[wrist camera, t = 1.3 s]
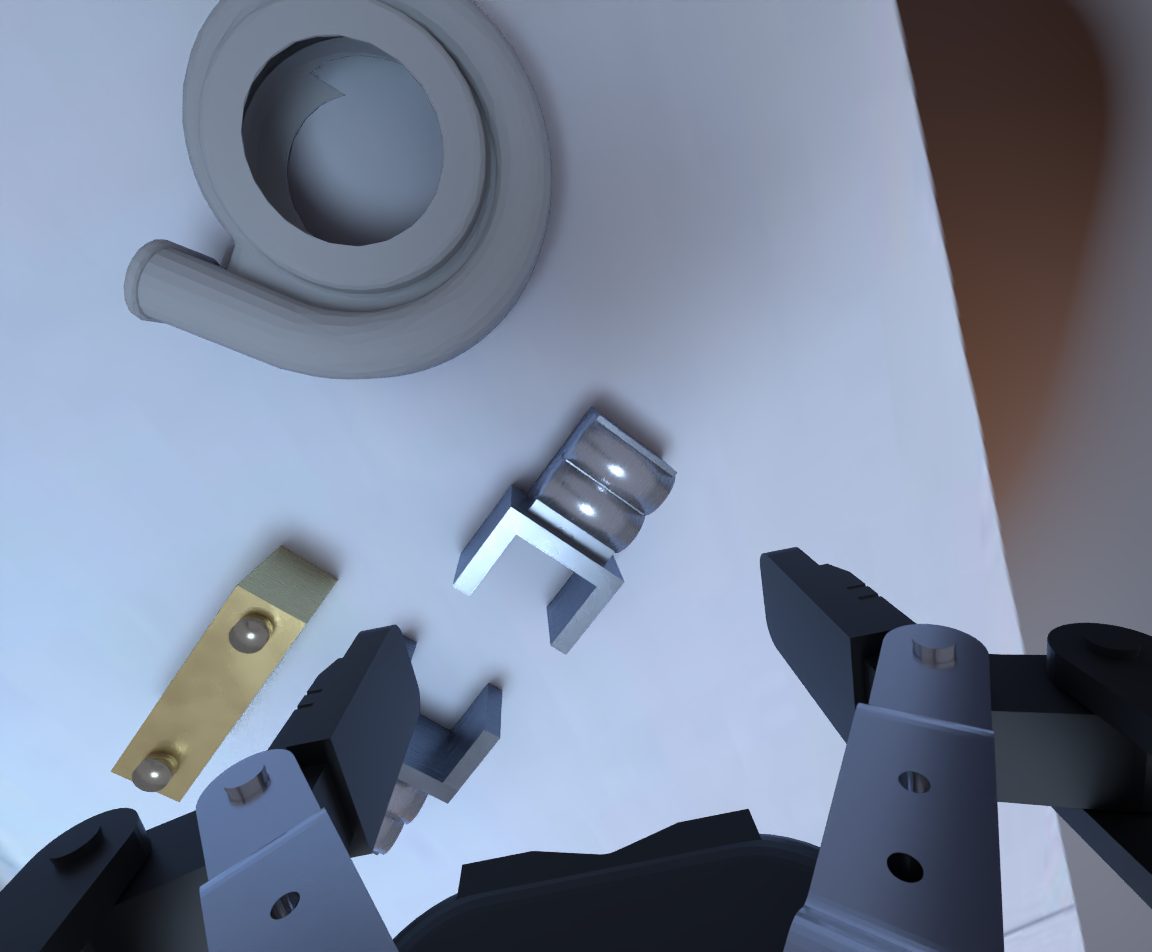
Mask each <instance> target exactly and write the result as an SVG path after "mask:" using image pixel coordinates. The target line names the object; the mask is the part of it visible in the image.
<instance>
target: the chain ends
mask: <svg viewBox="0 0 1152 952" xmlns="http://www.w3.org/2000/svg"><path fill="white" fill-rule="evenodd" d="M676 473H677V472H676V471H675V470H674V469H673V468H671V467H670V466H669V465H668V464H667V463H666V462H665V461H663V460H662V459H661V458H660V457H658V456H657V455H656V454H654V453H653V452H652V451H650V450H649V449H648V448H646V447H645V446H643V445H642V444H641V443H639V442H638V441H637V440H635V439H634V438H633V437H631V436H630V435H629V434H627V433H626V432H625V431H623V430H622V429H621V428H619V427H618V426H617V425H615V424H614V423H612V422H611V421H610V420H608V419H607V418H606V417H604V416H603V415H602V414H600V413H599V412H598V411H596V410H595V409H594V408H592V407H591V408H590V410H589V411H588V412H587V414H586V415H585V416H584V418H583V419H582V420H581V422H580V423H579V424H578V426H577V427H576V429H575V430H574V431H573V433H572V434H571V435H570V437H569V438H568V439H567V441H566V442H565V443H564V445H563V446H562V447H561V449H560V450H559V452H558V453H557V454H556V456H555V457H554V458H553V460H552V461H551V462H550V464H549V465H548V466H547V468H546V469H545V470H544V472H543V473H542V474H541V476H540V477H539V479H538V480H537V481H536V483H535V484H534V485H533V487H532V488H531V489H530V491H529V492H528V493H527V495H526V494H525V493H523V492H522V491H521V490H519V489H518V488H516V487H515V486H513V485H511V486H510V488H509V489H508V490H507V492H506V493H505V494H504V496H503V497H502V499H501V500H500V501H499V503H498V504H497V505H496V507H495V508H494V509H493V511H492V512H491V514H490V515H489V516H488V518H487V519H486V520H485V522H484V523H483V525H482V526H481V527H480V529H479V530H478V531H477V533H476V534H475V535H474V537H473V538H472V540H471V541H470V542H469V544H468V545H467V546H466V548H465V549H464V550H463V552H462V553H461V555H460V558H459V562H458V566H457V570H456V574H455V578H454V582H453V585H452V586H453V587H454V588H456V589H458V590H459V591H461V592H463V593H464V594H466V595H468V596H470V595H471V594H472V592H473V591H474V590H475V588H476V587H477V586H478V584H479V583H480V582H481V580H482V579H483V578H484V576H485V575H486V574H487V572H488V571H489V570H490V568H491V567H492V566H493V564H494V563H495V562H496V560H497V559H498V558H499V556H500V555H501V554H502V552H503V551H504V550H505V548H506V547H507V545H508V544H509V543H510V541H511V540H512V539H513V537H514V536H515V535H516V534H517V535H518V536H520V537H521V538H523V539H524V540H526V541H527V542H529V543H530V544H532V545H534V546H535V547H537V548H538V549H540V550H541V551H543V552H544V553H546V554H547V555H549V556H551V557H552V558H554V559H555V560H557V561H558V562H560V563H561V564H563V565H564V566H566V567H567V568H569V569H571V570H572V571H574V574H573V575H572V576H571V578H570V579H569V580H568V581H567V583H566V584H565V585H564V587H563V588H562V589H561V590H560V592H559V593H558V594H557V596H556V597H555V598H554V600H553V601H552V602H551V603H550V605H549V606H548V607H547V615H548V625H549V634H550V644H551V646H552V647H554V648H556V649H557V650H559V651H561V652H562V653H564V654H567V653H568V652H569V651H570V649H571V648H572V647H573V646H574V644H575V643H576V642H577V641H578V639H579V638H580V637H581V636H582V634H583V633H584V632H585V631H586V629H587V628H588V627H589V626H590V624H591V623H592V622H593V621H594V619H595V618H596V617H597V615H598V614H599V613H600V612H601V610H602V609H603V608H604V607H605V605H606V604H607V603H608V602H609V600H610V599H611V598H612V597H613V595H614V594H615V593H616V592H617V590H618V589H619V588H620V587H621V585H622V584H623V583H624V580H623V577H622V575H621V573H620V570H619V568H618V566H617V563H616V561H615V559H614V556H613V554H614V553H618V552H621V551H622V550H624V549H625V548H626V547H627V546H628V545H629V544H630V543H631V542H632V541H633V540H634V538H635V537H636V535H637V534H638V532H639V531H640V529H641V527H642V525H643V522H644V519H645V515H648V514H650V513H652V512H653V511H655V510H656V509H657V508H658V507H659V506H660V505H661V504H662V503H663V502H664V500H665V499H666V498H667V496H668V494H669V493H670V491H671V489H672V487H673V485H674V481H675V475H676ZM403 637H404V641H405V644H406V647H407V651H408V654H409V657H410V661H411V659H412V656H413V653H414V650H415V647H416V644H417V643H416V642H414V641H412V640H410V639H409V638H407V637H405V636H403ZM501 705H502V691H501V690H499V689H497V688H496V687H494V686H492V685H490V684H488V685H487V686H486V687H485V688H484V690H483V691H482V692H481V694H480V695H479V696H478V697H477V699H476V700H475V701H474V703H473V704H472V705H471V707H470V708H469V709H468V710H467V712H466V713H465V714H464V716H463V717H462V718H461V719H460V721H459V722H458V723H457V725H456V726H455V727H454V728H453V730H452V731H449V730H447V729H445V728H444V727H442V726H440V725H438V724H436V723H434V722H432V721H430V720H428V719H427V718H425V717H423V716H421V715H419V717H418V720H417V723H416V726H415V729H414V732H413V735H412V738H411V741H410V744H409V746H408V749H407V752H406V755H405V758H404V761H403V764H402V767H401V770H400V773H399V776H398V779H397V781H396V784H395V787H394V790H393V793H392V796H391V799H390V802H389V805H388V808H387V811H386V814H385V816H384V819H383V822H382V825H381V828H380V831H379V834H378V837H377V840H376V843H375V846H374V848H373V851H372V853H374V854H376V855H378V854H379V853H381V854H383V855H384V854H386V853H387V852H388V851H389V850H390V848H391V847H392V846H393V844H394V843H395V841H396V839H397V838H398V836H399V834H400V832H401V830H402V828H403V825H404V823H406V824H409V823H410V822H411V821H412V820H413V819H414V818H415V817H416V815H417V814H418V812H419V811H420V809H421V807H422V806H423V804H424V802H425V800H426V797H427V795H428V794H429V795H432V796H434V797H436V798H438V799H440V800H442V801H444V802H446V803H449V802H450V800H451V799H452V798H453V797H454V795H455V794H456V793H457V792H458V790H459V789H460V788H461V787H462V785H463V784H464V783H465V781H466V780H467V779H468V778H469V776H470V775H471V774H472V773H473V771H474V770H475V769H476V768H477V766H478V765H479V764H480V763H481V761H482V760H483V759H484V758H485V756H486V755H487V754H488V753H489V751H490V750H491V749H492V748H493V746H494V745H495V744H496V742H497V741H498V740H499V739H500V729H501Z"/></svg>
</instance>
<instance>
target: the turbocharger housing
mask: <svg viewBox="0 0 1152 952" xmlns="http://www.w3.org/2000/svg"><path fill="white" fill-rule="evenodd" d="M355 55H360V56H369V57H377V58H383V59H387V60H391V61H394V62H397V63H400V64H402V65H403V66H404V67H405V68H406V69H407V70H408V71H409V72H410V74H411V75H412V76H413V77H414V78H415V79H416V80H417V82H418V83H419V84H420V85H421V86H422V87H423V88H424V90H425V92H426V94H427V96H428V98H429V100H430V102H431V105H432V107H433V109H434V111H435V113H436V115H437V117H438V121H439V125H440V130H441V134H442V138H443V160H444V163H443V167H442V171H441V176H440V180H439V184H438V189H437V192H436V194H435V196H434V197H433V199H432V201H431V203H430V204H429V206H428V208H427V210H426V211H425V213H424V214H423V215H422V216H421V217H420V218H419V219H418V220H417V221H416V222H415V223H414V224H413V225H412V226H411V227H410V228H408V229H407V230H405V231H403V232H401V233H400V234H398V235H396V236H395V237H393V238H391V239H389V240H387V241H384V242H379V243H374V244H369V245H364V246H350V245H341V244H333V243H330V242H326V241H323V240H320V239H318V238H315V237H313V236H312V235H311V234H310V233H309V232H308V231H307V229H306V228H305V226H304V224H303V222H302V221H301V219H300V217H299V215H298V213H297V212H296V210H295V208H294V206H293V203H292V199H291V196H290V192H289V188H288V176H287V163H288V158H289V154H290V149H291V145H292V140H293V139H294V137H295V136H296V134H297V132H298V131H299V129H300V127H301V126H302V124H303V123H304V121H305V119H306V118H307V117H308V116H310V115H311V114H312V113H313V112H314V111H315V110H317V109H318V108H319V107H320V106H321V105H323V104H325V103H327V102H328V101H330V100H333V99H335V98H338V97H340V96H344V95H345V94H343V93H341V92H340V91H338V90H337V89H335V88H333V87H332V86H330V85H328V84H327V83H325V82H323V81H322V80H320V79H318V78H317V77H315V76H313V75H312V74H310V73H311V72H313V71H314V70H315V69H317V68H318V67H320V66H321V65H322V64H324V63H325V62H328V61H331V60H334V59H338V58H343V57H348V56H355ZM183 128H184V135H185V141H186V146H187V150H188V154H189V158H190V162H191V165H192V168H193V171H194V175H195V177H196V180H197V182H198V185H199V187H200V189H201V192H202V194H203V196H204V198H205V200H206V201H207V203H208V205H209V206H210V208H211V210H212V211H213V213H214V215H215V216H216V218H217V219H218V221H219V222H220V224H221V225H222V226H223V228H224V229H225V230H226V231H227V232H228V234H229V235H230V236H231V237H232V239H233V240H234V243H235V246H234V249H233V252H232V256H231V259H230V262H229V265H228V268H227V269H225V268H222V267H221V266H220V265H219V263H218V262H217V261H216V260H215V259H214V258H211V257H208V256H206V255H203V254H201V253H198V252H196V251H193V250H191V249H188V248H186V247H183V246H181V245H178V244H176V243H173V242H171V241H168V240H163V239H161V240H153V241H151V242H149V243H147V244H145V245H144V246H143V247H141V248H140V249H139V250H138V251H137V253H136V254H135V256H134V257H133V258H132V260H131V262H130V264H129V266H128V268H127V272H126V277H125V282H124V296H125V302H126V304H127V306H128V309H129V311H130V312H131V313H132V314H134V315H135V316H137V317H138V318H139V319H141V320H145V321H152V322H159V323H166V324H169V325H171V326H174V327H176V328H179V329H181V330H184V331H186V332H189V333H191V334H194V335H197V336H199V337H202V338H204V339H207V340H209V341H212V342H214V343H217V344H219V345H222V346H224V347H227V348H229V349H232V350H234V351H237V352H240V353H242V354H245V355H247V356H250V357H252V358H255V359H257V360H260V361H262V362H265V363H267V364H270V365H272V366H275V367H277V368H280V369H285V370H289V371H293V372H297V373H302V374H306V375H310V376H315V377H323V378H333V379H371V378H385V377H395V376H401V375H407V374H412V373H416V372H419V371H423V370H426V369H429V368H432V367H435V366H437V365H440V364H442V363H444V362H447V361H449V360H451V359H453V358H455V357H456V356H458V355H460V354H462V353H464V352H465V351H467V350H468V349H470V348H471V347H473V346H474V345H475V344H477V343H478V342H479V341H481V340H482V339H483V338H484V337H485V336H487V335H488V334H489V333H490V332H491V331H492V330H493V329H494V328H495V327H496V326H497V325H498V324H499V323H500V322H501V321H502V320H503V318H504V317H505V316H506V315H507V313H508V312H509V311H510V310H511V308H512V307H513V306H514V305H515V303H516V301H517V300H518V298H519V296H520V295H521V293H522V291H523V290H524V288H525V286H526V284H527V282H528V280H529V278H530V276H531V274H532V271H533V269H534V266H535V263H536V260H537V258H538V255H539V252H540V249H541V246H542V242H543V239H544V235H545V232H546V228H547V223H548V217H549V212H550V203H551V194H552V168H551V155H550V147H549V140H548V135H547V131H546V126H545V122H544V118H543V115H542V112H541V108H540V105H539V102H538V100H537V97H536V95H535V92H534V90H533V87H532V85H531V83H530V81H529V78H528V76H527V74H526V72H525V70H524V68H523V66H522V64H521V62H520V61H519V59H518V57H517V56H516V54H515V52H514V51H513V49H512V48H511V46H510V45H509V43H508V42H507V40H506V39H505V38H504V36H503V35H502V33H501V32H500V31H499V30H498V28H497V27H496V26H495V25H494V24H493V22H492V21H491V20H490V19H489V18H488V17H487V16H486V15H485V14H484V13H483V12H482V11H481V10H480V9H479V8H478V7H477V6H476V5H475V3H473V2H472V1H471V0H220V1H219V3H218V4H217V5H216V6H215V8H214V9H213V10H212V11H211V13H210V14H209V16H208V18H207V19H206V21H205V23H204V25H203V26H202V28H201V30H200V31H199V33H198V36H197V38H196V41H195V43H194V46H193V48H192V51H191V54H190V58H189V62H188V66H187V71H186V75H185V80H184V84H183Z"/></svg>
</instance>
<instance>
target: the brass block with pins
mask: <svg viewBox="0 0 1152 952" xmlns="http://www.w3.org/2000/svg"><path fill="white" fill-rule="evenodd" d="M337 581H338V579H337V578H335V577H333V576H331V575H330V574H328V573H326V572H325V571H323V570H321V569H319V568H318V567H316V566H314V565H313V564H311V563H309V562H307V561H306V560H304V559H302V558H301V557H299V556H297V555H295V554H294V553H292V552H290V551H289V550H287V549H285V548H283V547H282V546H280V547H279V548H278V549H277V550H276V551H275V552H273V553H272V554H271V555H270V556H269V557H268V558H267V559H266V560H265V561H263V562H262V563H261V564H260V565H259V566H258V567H257V568H256V569H255V570H253V571H252V572H251V573H250V574H249V575H248V576H247V577H246V578H245V579H243V580H242V581H241V582H240V583H239V584H238V585H237V586H236V587H235V589H234V590H233V592H232V593H231V595H230V596H229V598H228V599H227V601H226V602H225V604H224V605H223V607H222V608H221V610H220V611H219V613H218V614H217V616H216V617H215V618H214V620H213V621H212V623H211V624H210V626H209V627H208V629H207V630H206V632H205V633H204V635H203V636H202V638H201V639H200V641H199V642H198V644H197V645H196V646H195V648H194V649H193V651H192V652H191V654H190V655H189V657H188V658H187V660H186V661H185V663H184V664H183V666H182V667H181V669H180V670H179V672H178V673H177V674H176V676H175V677H174V679H173V680H172V682H171V683H170V685H169V686H168V688H167V689H166V691H165V692H164V694H163V695H162V697H161V698H160V700H159V701H158V703H157V704H156V705H155V707H154V708H153V710H152V711H151V713H150V714H149V716H148V717H147V719H146V720H145V722H144V723H143V725H142V726H141V728H140V729H139V731H138V732H137V733H136V735H135V736H134V738H133V739H132V741H131V742H130V744H129V745H128V747H127V748H126V750H125V751H124V753H123V754H122V756H121V757H120V759H119V760H118V761H117V763H116V764H115V766H114V767H113V769H112V770H111V772H113V773H115V774H117V775H120V776H122V777H124V778H126V779H129V780H131V781H133V783H134V784H135V786H136V787H138V788H139V789H141V790H143V791H146V792H158V793H160V794H162V795H164V796H167V797H169V798H171V799H173V800H176V801H178V802H180V801H181V799H182V798H183V796H184V795H185V794H186V792H187V791H188V790H189V788H190V787H191V785H192V784H193V783H194V781H195V780H196V778H197V777H198V776H199V774H200V773H201V771H202V770H203V769H204V767H205V766H206V765H207V763H208V762H209V760H210V759H211V758H212V756H213V755H214V753H215V752H216V751H217V749H218V748H219V746H220V745H221V744H222V742H223V741H224V740H225V738H226V737H227V735H228V734H229V733H230V731H231V730H232V728H233V727H234V726H235V724H236V723H237V721H238V720H239V719H240V717H241V716H242V714H243V713H244V711H245V710H246V709H247V707H248V706H249V704H250V703H251V702H252V700H253V699H254V697H255V696H256V695H257V693H258V692H259V690H260V689H261V688H262V686H263V685H264V683H265V682H266V681H267V679H268V678H269V676H270V675H271V674H272V672H273V671H274V669H275V668H276V666H277V665H278V664H279V662H280V661H281V659H282V658H283V657H284V655H285V654H286V652H287V651H288V650H289V648H290V647H291V645H292V644H293V643H294V641H295V640H296V638H297V637H298V636H299V634H300V633H301V631H302V630H303V629H304V627H305V626H306V624H307V623H308V622H309V620H310V619H311V617H312V616H313V614H314V613H315V612H316V610H317V609H318V607H319V606H320V605H321V603H322V602H323V600H324V599H325V598H326V596H327V595H328V593H329V592H330V591H331V589H332V588H333V586H334V585H335V584H336V582H337Z"/></svg>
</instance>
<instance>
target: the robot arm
mask: <svg viewBox="0 0 1152 952" xmlns="http://www.w3.org/2000/svg"><path fill="white" fill-rule="evenodd" d="M760 569H761V578H762V587H763V596H764V605H765V614H766V621H767V626H768V630H769V633H770V636H771V638H772V641H773V643H774V645H775V647H776V648H777V650H778V651H779V652H780V654H781V655H782V656H783V658H784V659H785V660H786V662H787V663H788V665H789V666H790V667H791V669H792V670H793V671H794V673H795V674H796V675H797V677H798V678H799V680H800V681H801V682H802V684H803V685H804V686H805V688H806V689H807V690H808V692H809V693H810V695H811V696H812V697H813V699H814V700H815V701H816V703H817V704H818V705H819V707H820V708H821V710H822V711H823V712H824V714H825V715H826V716H827V718H828V719H829V720H830V722H831V723H832V725H833V726H834V727H835V729H836V730H837V731H838V733H839V734H840V736H841V737H842V738H843V740H844V741H845V742H846V744H847V745H846V749H845V753H844V757H843V761H842V765H841V769H840V772H839V776H838V780H837V784H836V788H835V792H834V796H833V800H832V804H831V808H830V811H829V815H828V819H827V823H826V827H825V831H824V835H823V839H822V843H821V847H818V846H815V845H813V844H810V843H807V842H803V841H800V840H796V839H792V838H789V837H783V836H776V835H770V834H759V832H758V830H757V828H756V825H755V823H754V821H753V818H752V816H751V814H750V811H749V809H745V810H740V811H735V812H730V813H725V814H720V815H714V816H709V817H704V818H699V819H694V820H689V821H684V822H679V823H676V824H674V825H672V826H670V827H667V828H665V829H663V830H661V831H659V832H657V833H654V834H652V835H650V836H648V837H646V838H643V839H641V840H639V841H637V842H635V843H633V844H630V845H628V846H626V847H624V848H622V849H619V850H617V851H615V852H612V853H609V854H601V855H599V854H579V853H560V852H541V851H531V852H525V853H520V854H515V855H510V856H505V857H500V858H495V859H490V860H485V861H480V862H474V863H469V864H464V865H462V870H461V876H460V883H459V889H458V893H457V894H455V895H453V896H451V897H449V898H447V899H445V900H443V901H442V902H440V903H438V904H437V905H435V906H433V907H432V908H430V909H429V910H427V911H426V912H425V913H423V914H422V915H420V916H419V917H418V918H416V919H415V920H414V921H413V922H411V923H410V924H409V925H408V926H407V927H406V928H404V929H403V930H402V931H401V932H400V933H399V934H398V935H397V936H396V937H395V938H394V939H393V940H392V938H391V936H390V934H389V932H388V930H387V928H386V926H385V924H384V922H383V920H382V918H381V916H380V914H379V912H378V910H377V908H376V907H375V905H374V903H373V901H372V899H371V897H370V895H369V893H368V891H367V889H366V887H365V885H364V883H363V881H362V879H361V877H360V875H359V873H358V872H357V870H356V868H355V866H354V864H353V862H352V860H351V858H352V857H357V856H362V855H367V854H372V851H373V848H374V846H375V843H376V840H377V837H378V834H379V831H380V828H381V825H382V822H383V819H384V816H385V814H386V811H387V808H388V805H389V802H390V799H391V796H392V793H393V790H394V787H395V784H396V781H397V779H398V776H399V773H400V770H401V767H402V764H403V761H404V758H405V755H406V752H407V749H408V746H409V744H410V741H411V738H412V735H413V732H414V729H415V726H416V723H417V720H418V717H419V713H420V693H419V688H418V684H417V681H416V677H415V674H414V671H413V667H412V664H411V661H410V657H409V654H408V651H407V647H406V644H405V641H404V637H403V634H402V632H401V630H400V628H399V627H398V626H397V625H391V626H386V627H381V628H375V629H370V630H365V631H361V632H360V633H359V634H358V635H357V637H356V638H355V640H354V641H353V643H352V645H351V646H350V648H349V649H348V651H347V652H346V654H345V655H344V657H343V658H339V659H337V660H336V661H335V662H334V663H332V664H331V665H330V666H329V667H328V668H326V669H325V670H324V671H323V672H322V673H320V674H319V675H318V677H317V678H316V680H315V681H314V683H313V684H312V685H311V687H310V688H309V690H308V691H307V695H305V696H304V697H303V699H302V700H301V702H300V703H299V705H298V706H297V707H298V709H297V710H294V712H293V713H292V715H291V716H290V718H289V719H288V721H287V722H286V724H285V725H284V727H283V728H282V729H281V731H280V732H279V734H278V735H277V737H276V738H275V740H274V741H273V743H272V744H271V746H270V747H269V749H268V750H267V751H263V752H260V753H257V754H254V755H252V756H250V757H247V758H245V759H243V760H241V761H239V762H238V763H236V764H234V765H233V766H231V767H230V768H228V769H227V770H225V771H224V772H223V773H221V774H220V775H219V776H218V777H217V778H215V779H214V780H213V781H212V782H211V783H210V784H209V785H208V786H207V788H206V789H205V790H204V791H203V793H202V794H201V796H200V798H199V799H198V801H197V805H196V810H195V811H193V812H190V813H188V814H186V815H183V816H181V817H178V818H176V819H173V820H171V821H169V822H166V823H164V824H161V825H159V826H156V827H154V828H151V829H149V830H147V831H146V830H145V828H144V826H143V824H142V822H141V820H140V818H139V816H138V814H137V812H136V811H135V810H133V809H130V808H119V809H113V810H110V811H106V812H104V813H101V814H98V815H96V816H93V817H91V818H89V819H87V820H85V821H83V822H81V823H79V824H77V825H76V826H74V827H72V828H71V829H69V830H67V831H66V832H64V833H63V834H61V835H60V836H58V837H57V838H55V839H54V840H53V841H52V842H50V843H49V844H48V845H46V846H45V847H44V848H43V849H42V850H40V851H39V852H38V853H37V854H36V855H35V856H34V857H33V858H32V859H31V860H30V861H29V862H28V863H27V864H26V865H25V866H24V867H23V868H22V869H21V871H20V872H19V873H18V874H17V875H16V876H15V877H14V878H13V879H12V880H11V881H10V882H9V883H8V884H7V885H6V886H5V888H4V889H3V890H2V891H1V892H0V952H1004V936H1003V915H1002V893H1001V871H1000V849H999V827H998V806H997V802H1008V803H1020V804H1032V805H1044V806H1051V807H1052V808H1053V809H1054V810H1055V811H1056V812H1057V813H1058V814H1059V815H1060V816H1061V817H1062V818H1063V819H1064V820H1065V821H1066V822H1067V823H1068V824H1069V825H1070V826H1071V827H1072V828H1073V829H1074V830H1075V831H1076V832H1077V833H1078V834H1079V835H1080V836H1081V838H1082V839H1084V841H1086V843H1087V844H1088V845H1089V846H1090V847H1091V848H1092V849H1093V850H1094V851H1095V852H1096V853H1097V854H1098V855H1099V856H1100V857H1101V858H1102V859H1103V860H1104V861H1105V862H1106V863H1107V864H1108V865H1109V866H1110V867H1111V868H1112V869H1113V870H1114V871H1115V872H1116V873H1117V874H1118V875H1119V876H1120V877H1121V878H1122V879H1123V880H1124V881H1125V882H1126V883H1127V884H1128V885H1129V886H1130V887H1131V888H1132V889H1133V890H1134V891H1135V892H1136V893H1137V894H1138V895H1139V896H1140V897H1141V899H1143V901H1144V902H1146V903H1147V905H1148V906H1149V907H1150V908H1151V909H1152V636H1149V635H1147V634H1144V633H1141V632H1138V631H1135V630H1131V629H1128V628H1123V627H1119V626H1113V625H1107V624H1099V623H1074V624H1067V625H1062V626H1060V627H1057V628H1055V629H1053V630H1052V631H1051V632H1050V633H1049V635H1048V638H1047V655H999V654H988V651H987V649H986V647H985V646H984V645H983V644H982V643H981V642H980V641H978V640H977V639H976V638H974V637H972V636H971V635H969V634H967V633H964V632H962V631H959V630H956V629H953V628H949V627H945V626H940V625H932V624H916V623H915V622H913V621H912V620H911V619H910V618H908V617H907V616H906V615H904V614H903V613H902V612H901V611H899V610H898V609H897V608H895V607H894V606H893V605H892V604H890V603H889V602H888V601H886V600H885V599H884V598H883V597H881V596H880V597H879V596H878V594H877V593H876V592H875V591H874V590H872V589H871V588H870V587H868V586H867V587H866V586H865V583H863V582H862V581H861V580H860V579H858V578H857V577H856V576H854V575H853V574H852V573H851V572H848V571H846V570H843V569H840V568H838V567H835V566H832V565H829V564H824V565H818V564H817V563H816V562H815V561H813V560H812V559H811V558H810V557H809V556H808V555H806V554H805V553H804V552H803V551H802V550H800V549H799V548H798V547H793V548H788V549H783V550H778V551H773V552H768V553H763V554H761V557H760Z"/></svg>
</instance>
